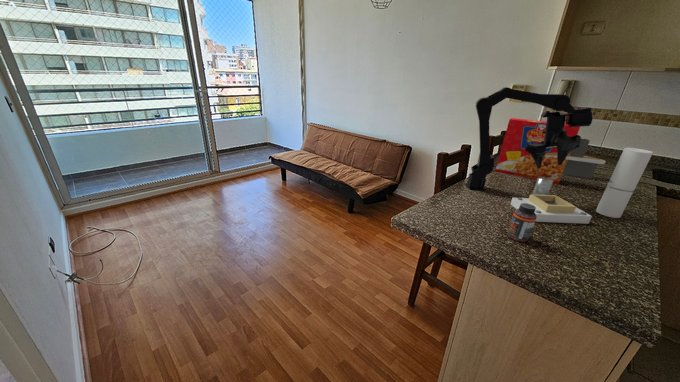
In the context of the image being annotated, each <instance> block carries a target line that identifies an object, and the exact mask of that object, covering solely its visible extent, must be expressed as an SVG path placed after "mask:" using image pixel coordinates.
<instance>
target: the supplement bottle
mask: <svg viewBox="0 0 680 382" xmlns="http://www.w3.org/2000/svg"><path fill="white" fill-rule="evenodd" d="M535 209H536V207H535V206H533V205H531V204H528V203H521V204H520V207H519V209H516V208H515V210H514V211H513V215H512V217H511V219H510V223H509V226H508V228H507V232H506V233H507V236H508V237H509V238H510V239H512V240H514V241H515V242H516V241H517V242H522V243H524V242H527V241H529V240H530V236H531V234H532V231H533V229H534V226H535V223H536V222H535V220H536V218H537V216H536V214H535V213H534V212H535Z"/></svg>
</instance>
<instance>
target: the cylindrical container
mask: <svg viewBox="0 0 680 382" xmlns="http://www.w3.org/2000/svg"><path fill="white" fill-rule="evenodd" d="M653 153H654V151H651V150H646V149H643V148H642V149H641V148H635V147H624V148H623V150H622V153H621V154H620V157H619V159H618V161H617V163H616V166H615V168H614V170H613V172H612V175H611V176H610V179H609V181H608V183H607V185H606V188H605V189H604V192H603V194H602V197H601V198H600V200H599V202H598V205H597V207H596V209H595V212H597V214H600V215H602V216H605V217H609V218H615V219H618V218H622V215H623V213H624V212H625V209H626V207H627V205H628V203H629V202H630V199H631V197H632V196H633V193H634V191H635V189H636V187H637V186H638V183H639V181H640V179H641V178H642V176H643V174H644V171H645V170H646V167H647V165H648V164H649V162H650V160H651V157H652V156H653Z"/></svg>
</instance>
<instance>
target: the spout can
mask: <svg viewBox="0 0 680 382" xmlns="http://www.w3.org/2000/svg"><path fill="white" fill-rule="evenodd" d="M552 185H553V180H552V179H550V178H547V177H538V178H537V180H536V183H535V186H534V188H533V191H532V194H534V195H549V193H550V190H551V188H552Z"/></svg>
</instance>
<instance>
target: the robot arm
mask: <svg viewBox="0 0 680 382" xmlns="http://www.w3.org/2000/svg"><path fill="white" fill-rule="evenodd" d="M506 99H510V100H516V101H521V102H527V103H531V104H538V105H540V106H542V107H544V108H547V109H550V110H554V111H550V110H545V111H544V112H543V113H542V114H540V117H542V118H546V129H545V131H543V132H542V133H544V134H545V137H544V141H541V143H542V144H544V145H542V144H537V143H534V144H528V145H527V146H526V149H525V151H527V152H528V153H530V154H531V156H532V157H533V159H534V161H535V163H536V166H537V168H539V169H540V168H541V164H542V158H543V156H544V155H545V154H546V153H544V152H545V151H546V149H550V148H557V157H558V165H562V163H563V161H564V160H565V158H566V157H567V155H568V154H569V152H571V151H573V150H575V149H576V148H577V147H579V146H580V141H581V139H582V137H581V135H580V134H577V135H574V136H567V132H566V131H565V130H564V125H565V124H566V125H568V126H569V127H580V128H581V127H589V126H591V125H592V124H593V120H594V119H593V113H592V107H583V108H575V107H574V106H573V105H572V104H571V99H570V97H569V96H568V95H566V94H561V93H537V92H532V91H526V90H519V89H514V88H510V87H508V86H507V87H506V86H505V87H502V88H501V89H500V90H498V91H496V92H494V93H492V94H490V95H488V96H485V97H484V96H483V97H481V98H478V100H477V101H476V102H475V110H476V114H477V118H478V126H479V127H478V132H479V136H478V138H479V155H478V158H477V162H476V164H474V165H473V166H471V167H470V169H471V173H469V174H468V178H467V181H466V183H464V185H465V186H466V187H467V188H468V189H469V190H472V191H473V190H474V191H476V190H477V191H485V185H486V183H487V175H489V174H491V173H492V172H493V169H494V168H496V166H495V156H494V155H493V154H491V153H490V152H491V151H490V149H491V148H490V118H491V116H492V115H491V114H492V110H493V107H494V106H497V104H500V103H501V102H502V101H504V100H506ZM561 112H564V113H561ZM548 146H549V147H548Z"/></svg>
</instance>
